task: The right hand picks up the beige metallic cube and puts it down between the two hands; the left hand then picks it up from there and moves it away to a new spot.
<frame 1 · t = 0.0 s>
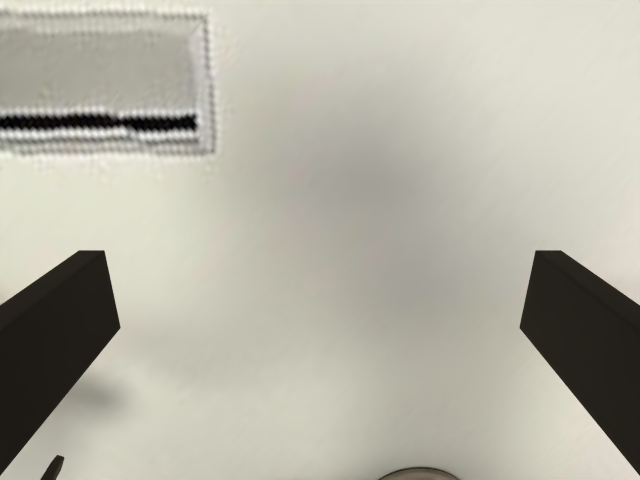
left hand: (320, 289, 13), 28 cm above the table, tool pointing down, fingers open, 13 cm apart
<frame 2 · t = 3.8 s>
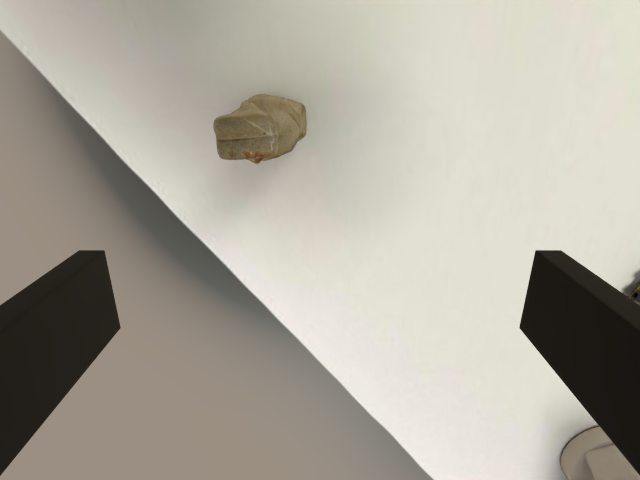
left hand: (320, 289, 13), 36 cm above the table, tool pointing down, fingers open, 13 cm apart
sculpture: (275, 119, 46), on the table
bust sculpture: (587, 441, 63), on the table
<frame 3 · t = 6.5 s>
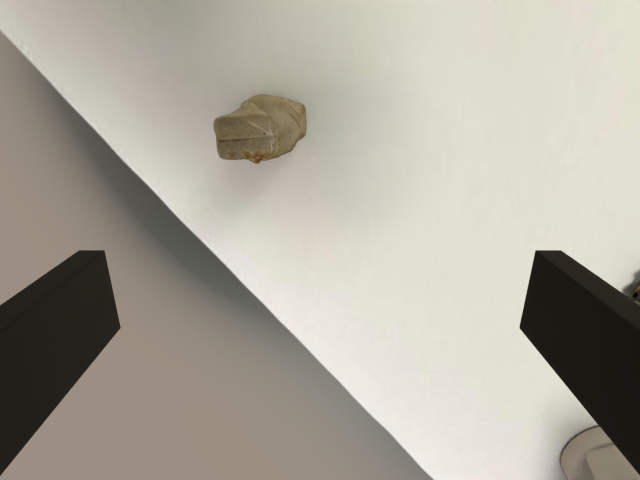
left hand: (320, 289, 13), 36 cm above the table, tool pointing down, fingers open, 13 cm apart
sculpture: (275, 119, 46), on the table
bust sculpture: (587, 441, 63), on the table
when the right hand's fingers open (2 cm above the table, at t = 9.2 s): beige metallic cube stays where it is, on the table.
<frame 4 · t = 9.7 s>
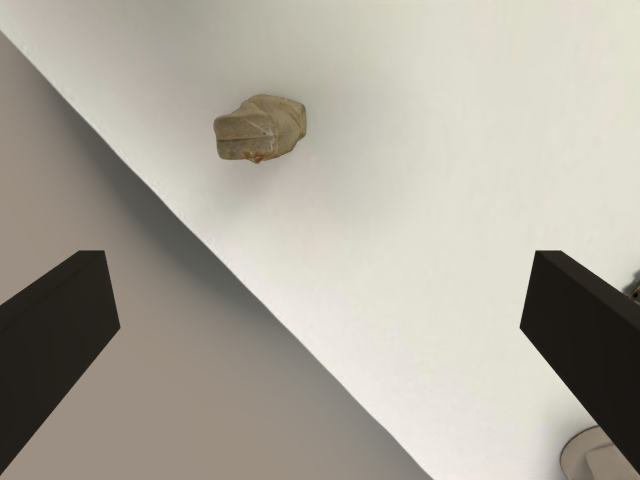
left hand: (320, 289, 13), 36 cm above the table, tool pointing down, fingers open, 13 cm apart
sculpture: (275, 119, 46), on the table
bust sculpture: (587, 441, 63), on the table
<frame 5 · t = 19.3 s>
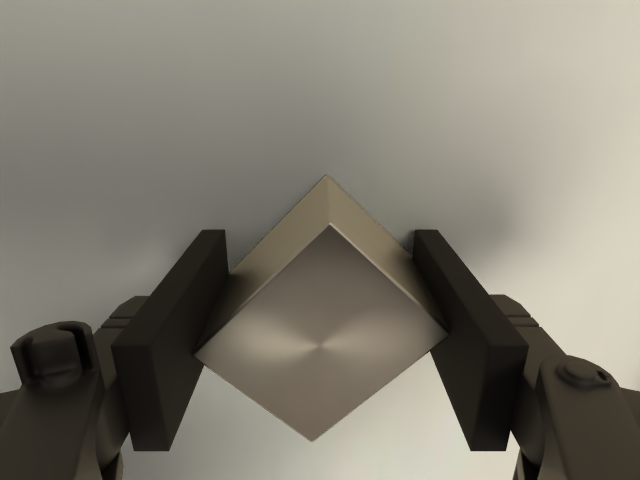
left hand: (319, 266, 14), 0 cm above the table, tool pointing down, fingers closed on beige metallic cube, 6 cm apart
beige metallic cube: (319, 264, 14), on the table, touching left hand
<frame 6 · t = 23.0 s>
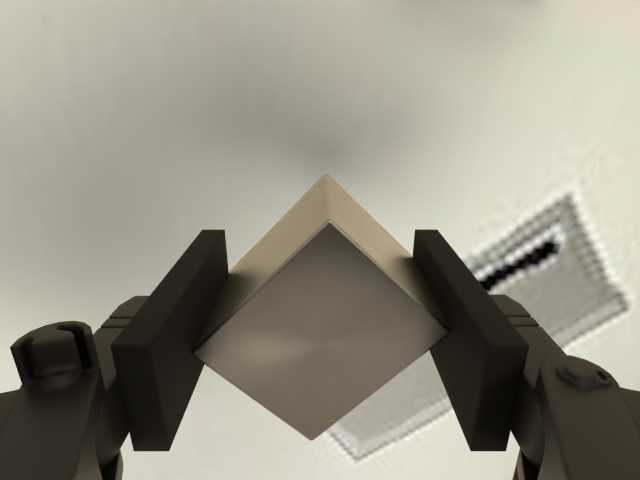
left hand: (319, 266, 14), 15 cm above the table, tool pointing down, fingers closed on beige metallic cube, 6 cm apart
beige metallic cube: (319, 262, 14), point 15 cm above the table, touching left hand
when the left hand's fingers open (1 cm above the table, at t = 26.8 s): beige metallic cube stays where it is, on the table.
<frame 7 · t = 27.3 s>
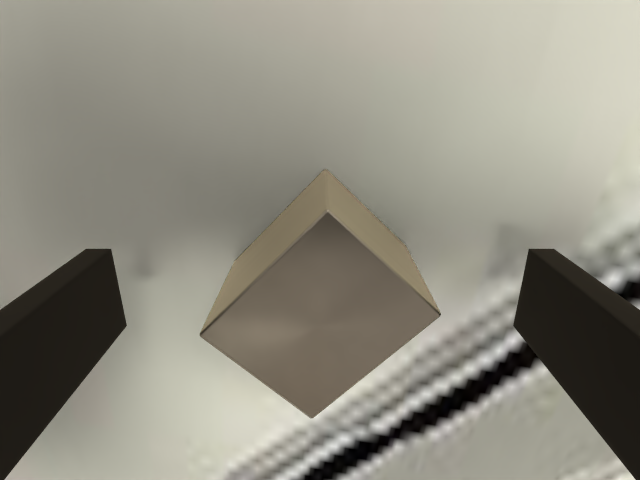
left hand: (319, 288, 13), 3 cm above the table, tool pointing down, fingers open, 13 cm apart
beige metallic cube: (319, 254, 15), on the table
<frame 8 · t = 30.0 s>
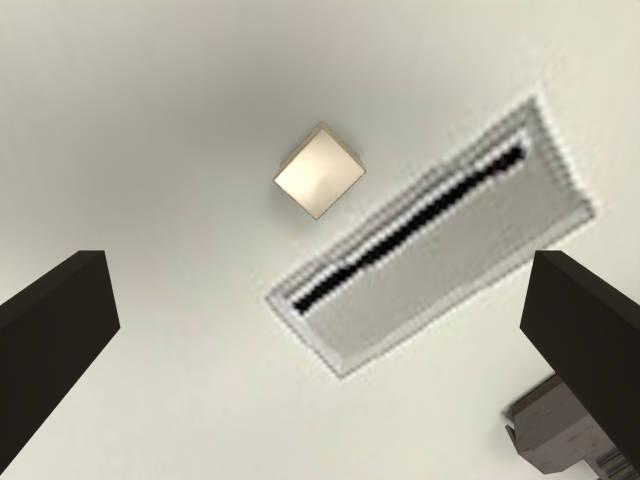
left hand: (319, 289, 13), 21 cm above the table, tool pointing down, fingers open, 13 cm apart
beige metallic cube: (319, 163, 32), on the table
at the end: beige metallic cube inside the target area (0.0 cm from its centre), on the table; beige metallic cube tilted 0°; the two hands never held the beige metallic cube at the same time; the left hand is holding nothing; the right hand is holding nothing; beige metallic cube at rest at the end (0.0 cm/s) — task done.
